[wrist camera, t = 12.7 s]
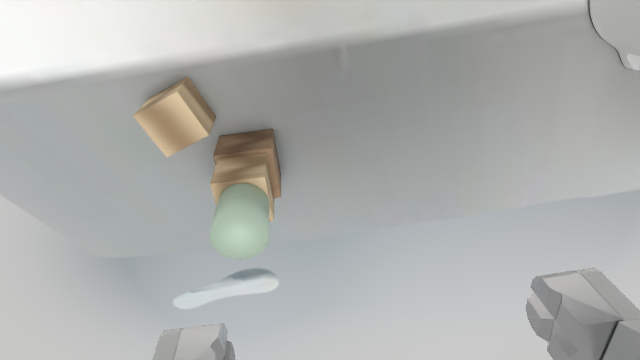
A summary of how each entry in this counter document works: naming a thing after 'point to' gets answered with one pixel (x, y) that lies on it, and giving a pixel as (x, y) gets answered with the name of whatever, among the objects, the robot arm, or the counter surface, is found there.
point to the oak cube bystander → (176, 117)
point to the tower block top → (244, 175)
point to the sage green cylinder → (241, 221)
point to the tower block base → (252, 151)
